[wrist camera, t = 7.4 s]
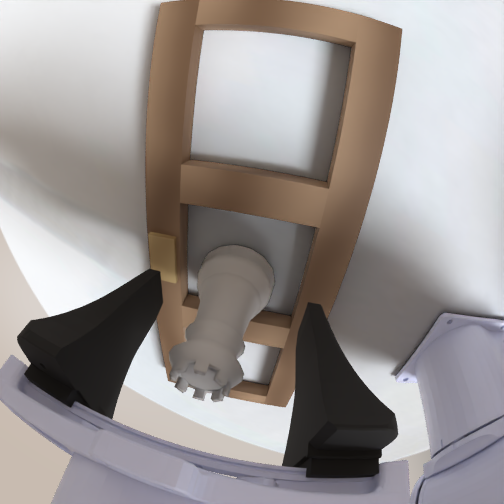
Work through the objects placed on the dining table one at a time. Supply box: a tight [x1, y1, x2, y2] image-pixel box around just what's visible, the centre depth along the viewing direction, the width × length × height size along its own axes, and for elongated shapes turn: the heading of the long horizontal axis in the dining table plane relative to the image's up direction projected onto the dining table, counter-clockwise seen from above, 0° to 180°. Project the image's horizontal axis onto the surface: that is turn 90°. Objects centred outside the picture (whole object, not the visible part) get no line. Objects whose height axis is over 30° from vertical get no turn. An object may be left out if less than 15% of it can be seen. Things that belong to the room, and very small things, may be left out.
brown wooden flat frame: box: [145, 0, 402, 407], centre depth 16 cm, size 11×28×2 cm, turn 173°
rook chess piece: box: [169, 245, 275, 402], centre depth 13 cm, size 4×4×8 cm
